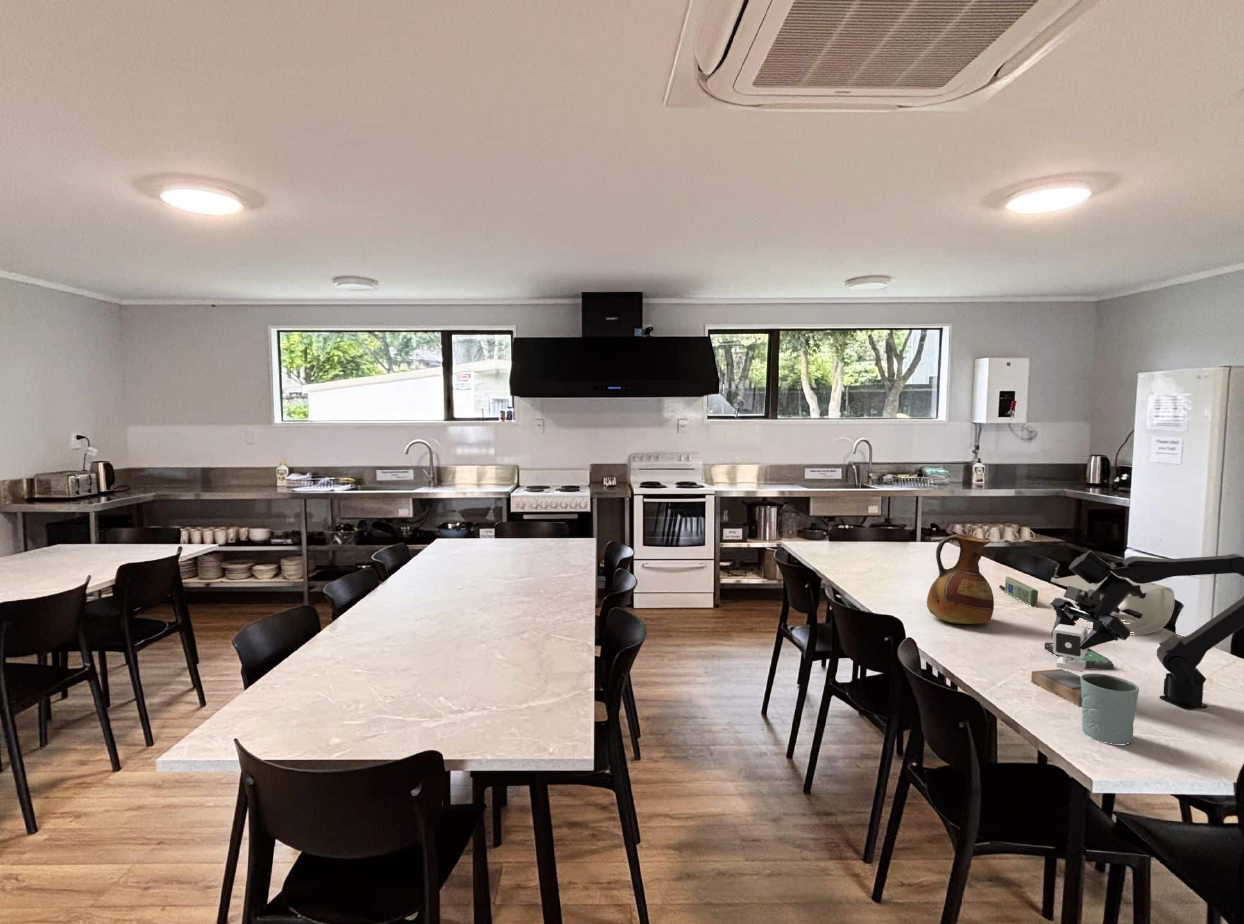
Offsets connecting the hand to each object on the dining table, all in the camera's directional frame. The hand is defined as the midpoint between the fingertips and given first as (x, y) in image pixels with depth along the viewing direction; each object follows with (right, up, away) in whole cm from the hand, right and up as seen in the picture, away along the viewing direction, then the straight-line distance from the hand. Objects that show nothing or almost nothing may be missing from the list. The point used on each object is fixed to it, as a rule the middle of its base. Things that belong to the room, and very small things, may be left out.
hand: (1066, 642), depth 157 cm
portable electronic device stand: (+54, -10, +56) cm, 78 cm away
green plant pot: (-6, -15, -20) cm, 26 cm away
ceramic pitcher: (+5, -10, +59) cm, 60 cm away
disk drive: (+20, -12, +24) cm, 34 cm away
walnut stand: (+2, -13, +1) cm, 13 cm away
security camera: (+1, -7, +1) cm, 7 cm away
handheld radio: (+42, -8, +87) cm, 97 cm away
